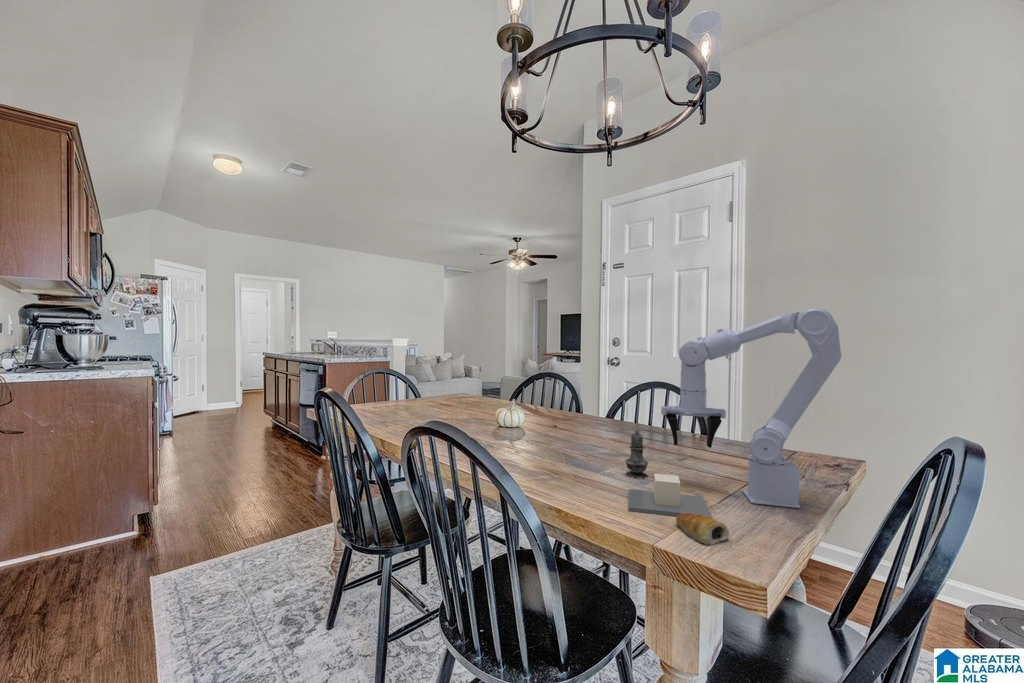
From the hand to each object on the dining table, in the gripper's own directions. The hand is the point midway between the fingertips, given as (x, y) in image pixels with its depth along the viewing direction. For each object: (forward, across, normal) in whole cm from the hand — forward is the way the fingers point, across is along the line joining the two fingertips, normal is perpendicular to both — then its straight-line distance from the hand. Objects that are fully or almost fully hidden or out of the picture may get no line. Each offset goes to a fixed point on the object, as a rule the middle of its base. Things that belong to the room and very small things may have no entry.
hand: (692, 445), depth 105 cm
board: (+10, +7, +15) cm, 19 cm away
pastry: (+10, +2, +28) cm, 29 cm away
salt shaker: (+10, +13, -4) cm, 17 cm away
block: (+9, +7, +15) cm, 19 cm away
